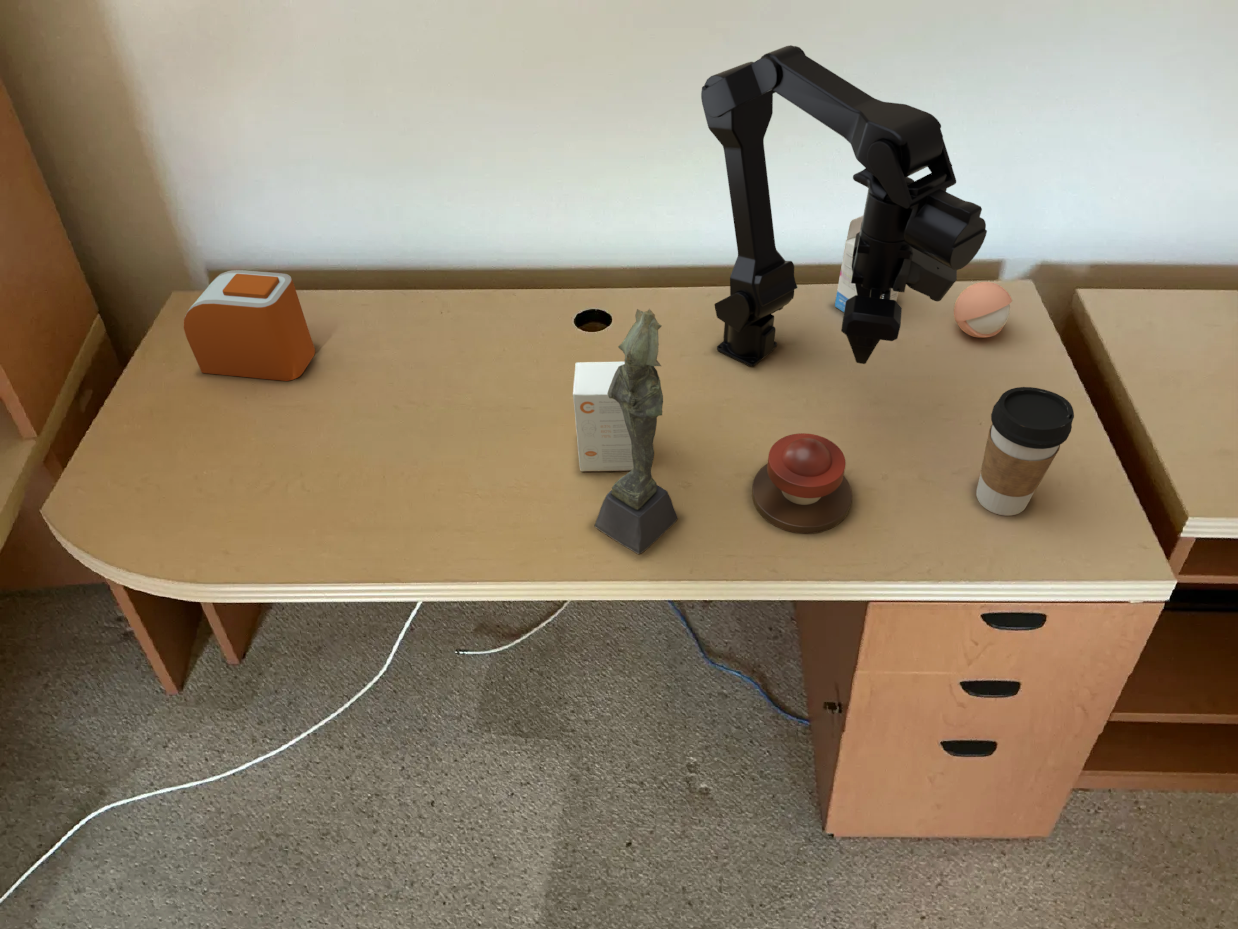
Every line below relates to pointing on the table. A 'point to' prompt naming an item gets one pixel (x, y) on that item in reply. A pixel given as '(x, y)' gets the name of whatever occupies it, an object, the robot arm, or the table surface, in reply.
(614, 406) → the small box
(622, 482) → the statue
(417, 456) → the table surface
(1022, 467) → the coffee cup
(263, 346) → the alarm clock
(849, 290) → the ink box
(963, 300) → the toy ball
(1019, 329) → the table surface
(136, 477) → the table surface
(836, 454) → the toy mushroom
